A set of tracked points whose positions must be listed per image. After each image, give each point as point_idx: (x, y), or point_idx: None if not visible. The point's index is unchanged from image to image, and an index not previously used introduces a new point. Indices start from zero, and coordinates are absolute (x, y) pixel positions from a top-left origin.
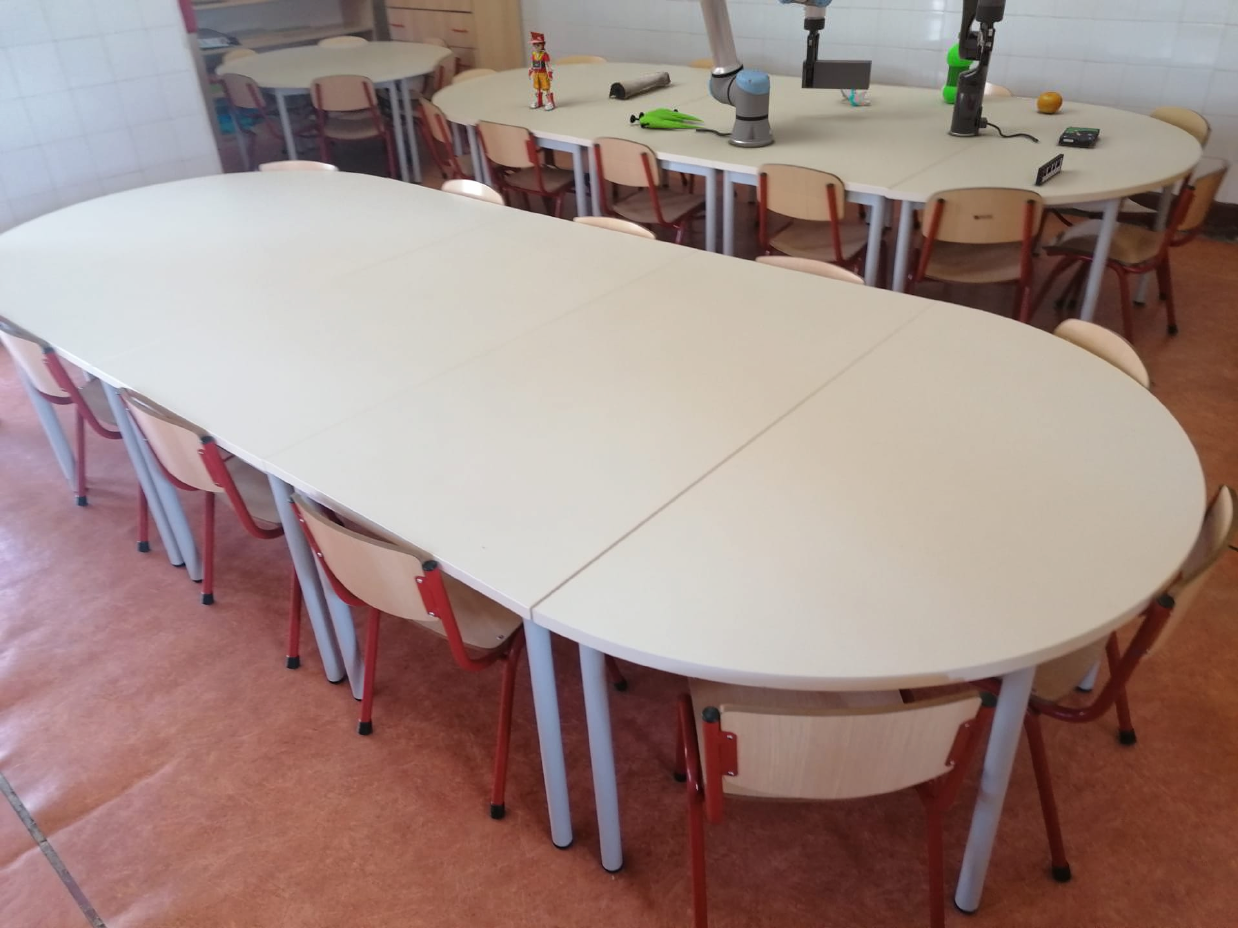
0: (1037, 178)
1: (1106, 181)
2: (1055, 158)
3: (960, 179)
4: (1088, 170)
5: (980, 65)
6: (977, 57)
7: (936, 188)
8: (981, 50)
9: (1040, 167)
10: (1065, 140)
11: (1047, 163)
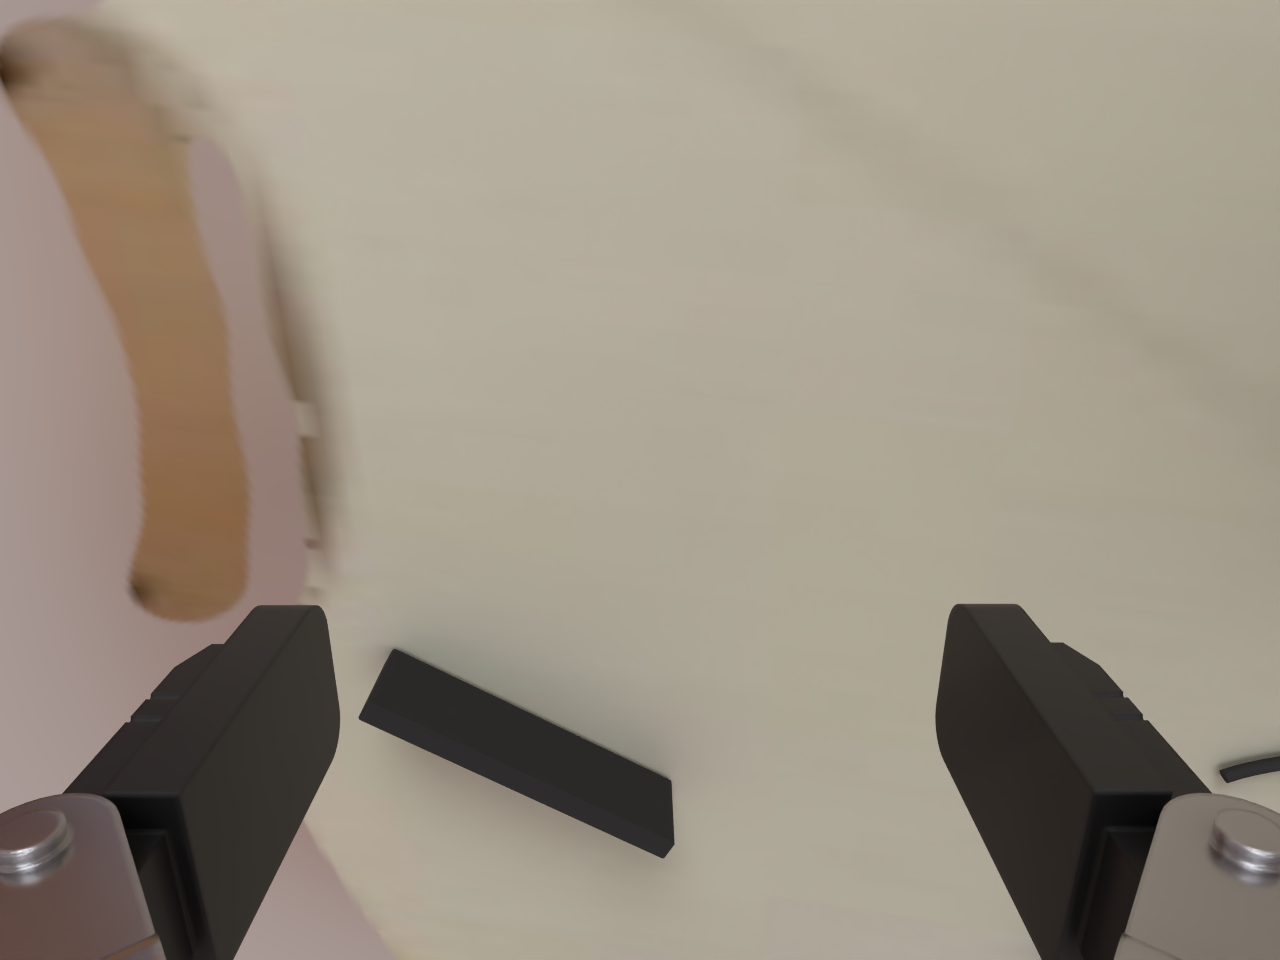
0: (382, 671)
1: (504, 936)
2: (573, 808)
3: (466, 249)
4: (677, 902)
5: (257, 619)
6: (980, 647)
7: (241, 60)
8: (24, 838)
9: (379, 712)
10: None
11: (465, 757)
